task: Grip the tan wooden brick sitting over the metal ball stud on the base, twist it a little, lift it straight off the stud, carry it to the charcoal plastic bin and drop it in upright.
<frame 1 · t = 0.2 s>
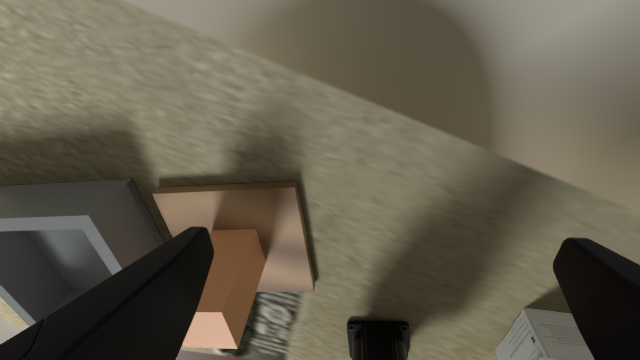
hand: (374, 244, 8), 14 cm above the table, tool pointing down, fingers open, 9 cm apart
small box: (543, 331, 32), on the table
tan wooden brick: (239, 246, 27), point 1 cm above the table, touching stud base
bin: (98, 242, 30), on the table
stud base: (243, 239, 28), on the table
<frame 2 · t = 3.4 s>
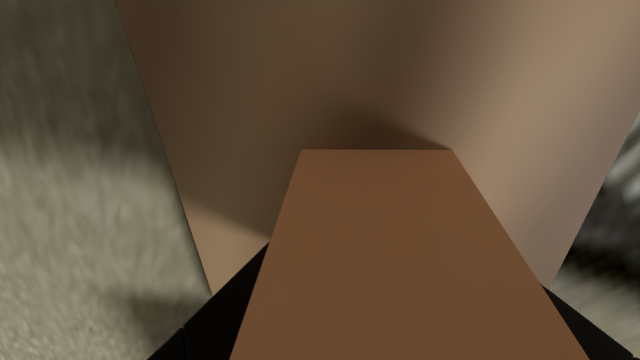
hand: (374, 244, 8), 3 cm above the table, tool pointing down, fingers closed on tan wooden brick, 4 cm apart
tan wooden brick: (371, 209, 9), point 1 cm above the table, touching gripper, stud base
stud base: (369, 191, 10), on the table
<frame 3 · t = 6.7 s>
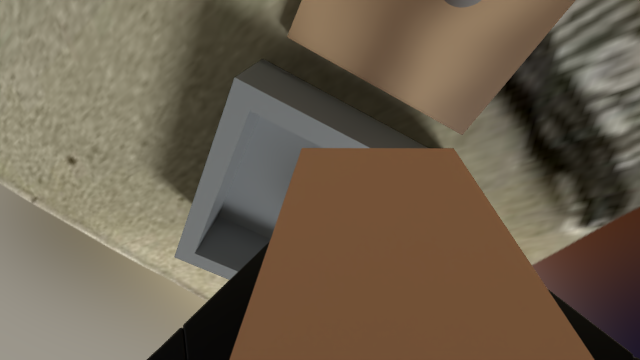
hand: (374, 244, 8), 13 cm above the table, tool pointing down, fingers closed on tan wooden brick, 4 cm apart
tan wooden brick: (372, 208, 9), point 12 cm above the table, touching gripper
bin: (314, 189, 23), on the table
when the fingers open (4 cm above the table, at t = 10.2 s): tan wooden brick drops 2 cm, resting on bin.
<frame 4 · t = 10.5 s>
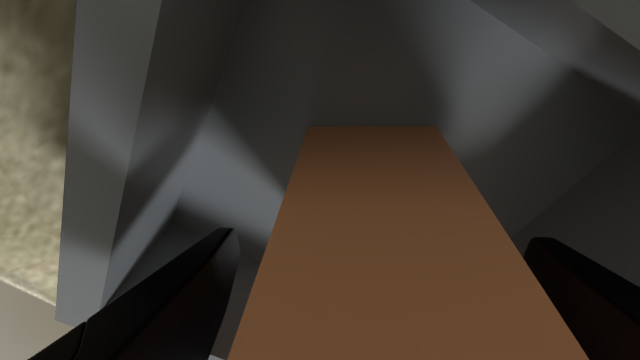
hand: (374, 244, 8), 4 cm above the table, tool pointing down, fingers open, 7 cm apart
tan wooden brick: (368, 180, 11), point 1 cm above the table, touching bin
bin: (367, 170, 11), on the table
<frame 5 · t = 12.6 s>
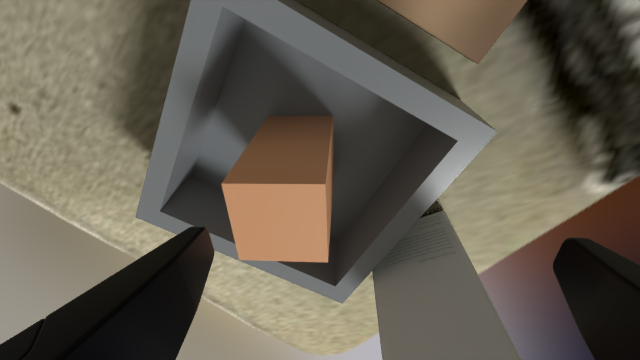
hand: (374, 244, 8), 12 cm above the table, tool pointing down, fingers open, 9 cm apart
skincare box: (413, 236, 24), on the table
tan wooden brick: (302, 146, 19), point 1 cm above the table, touching bin
bin: (304, 142, 20), on the table
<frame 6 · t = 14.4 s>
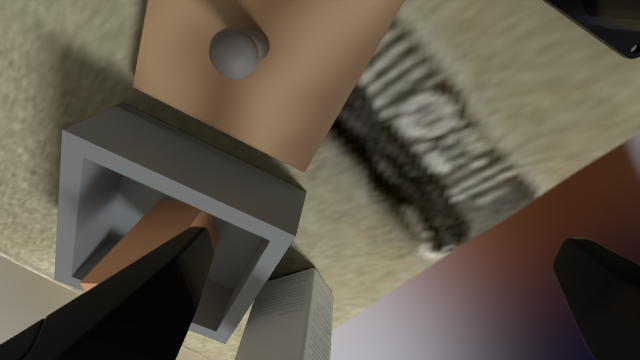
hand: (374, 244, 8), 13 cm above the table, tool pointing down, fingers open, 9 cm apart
skincare box: (297, 284, 29), on the table
tan wooden brick: (189, 221, 24), point 1 cm above the table, touching bin
bin: (194, 215, 25), on the table
stud base: (260, 42, 18), on the table
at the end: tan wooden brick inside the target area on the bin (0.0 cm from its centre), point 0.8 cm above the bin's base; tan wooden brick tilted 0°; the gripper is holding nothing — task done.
